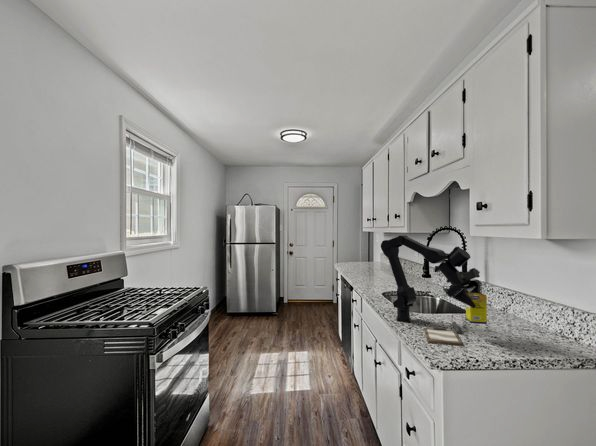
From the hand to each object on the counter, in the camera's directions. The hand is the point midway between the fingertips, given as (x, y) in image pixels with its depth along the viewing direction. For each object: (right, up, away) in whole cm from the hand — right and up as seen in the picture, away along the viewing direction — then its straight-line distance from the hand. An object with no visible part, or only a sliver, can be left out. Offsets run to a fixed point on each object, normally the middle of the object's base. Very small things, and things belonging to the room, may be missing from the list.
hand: (479, 305), depth 127 cm
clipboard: (-14, -13, +3) cm, 19 cm away
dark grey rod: (-3, -12, +13) cm, 18 cm away
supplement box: (-1, -7, +1) cm, 7 cm away
